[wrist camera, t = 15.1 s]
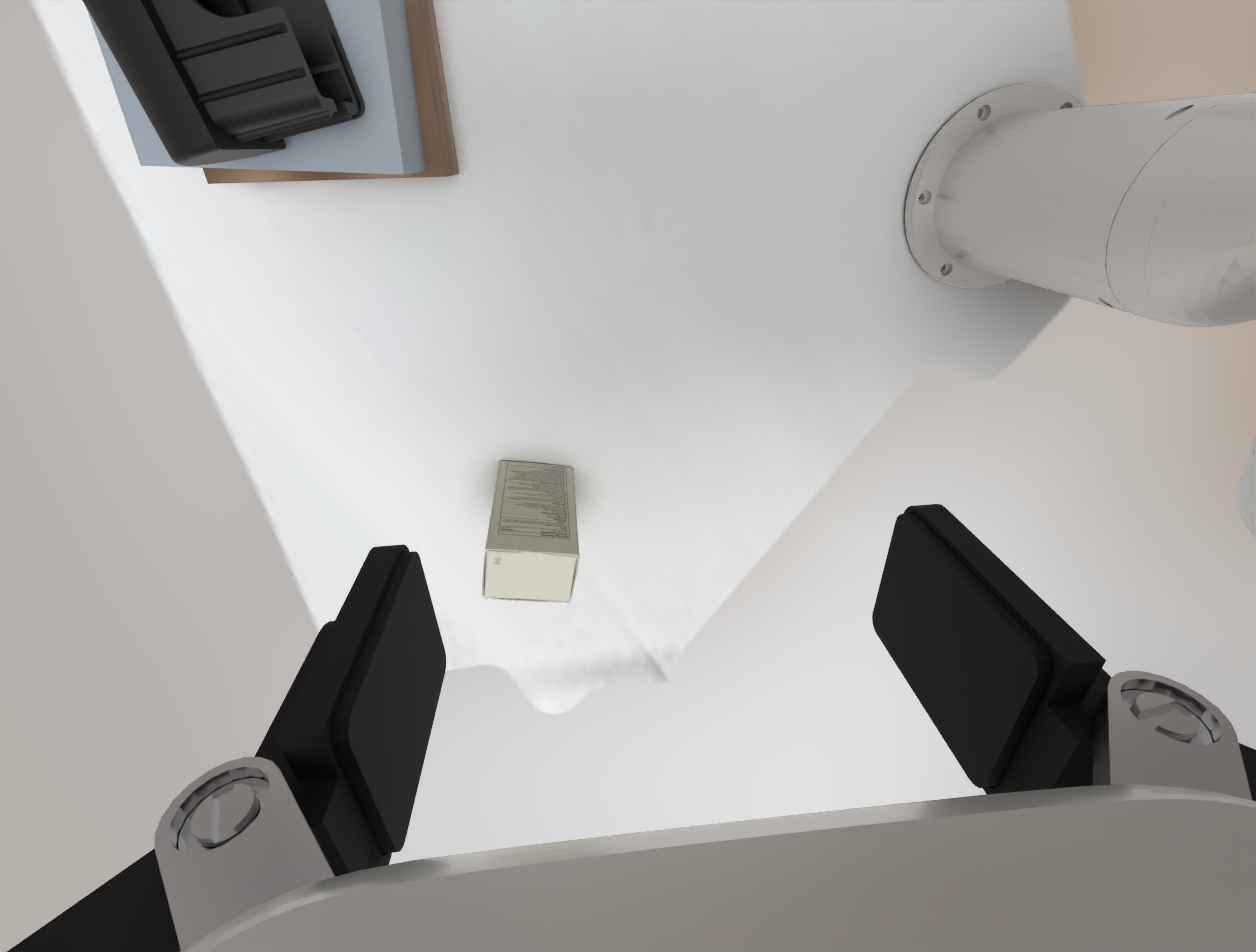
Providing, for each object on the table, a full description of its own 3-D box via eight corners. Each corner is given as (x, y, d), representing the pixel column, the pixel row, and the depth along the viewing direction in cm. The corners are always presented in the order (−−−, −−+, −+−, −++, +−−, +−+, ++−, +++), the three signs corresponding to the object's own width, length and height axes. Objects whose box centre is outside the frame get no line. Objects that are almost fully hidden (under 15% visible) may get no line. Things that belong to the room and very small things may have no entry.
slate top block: (389, -123, 26) (353, -177, 22) (426, 171, 32) (404, 174, 28) (108, -147, 25) (12, -208, 21) (200, 163, 31) (141, 165, 27)
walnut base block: (418, -103, 30) (393, -146, 26) (460, 173, 37) (445, 176, 32) (162, -104, 29) (92, -147, 25) (251, 179, 36) (207, 183, 32)
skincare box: (496, 502, 49) (476, 600, 38) (499, 457, 47) (479, 548, 36) (571, 509, 50) (571, 606, 39) (577, 466, 48) (580, 556, 37)
